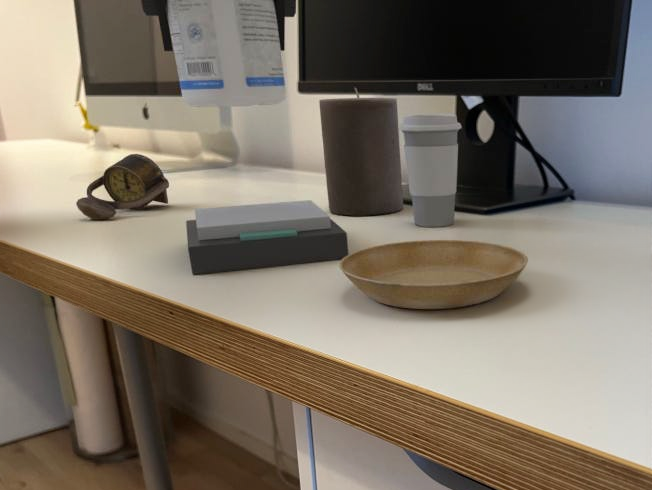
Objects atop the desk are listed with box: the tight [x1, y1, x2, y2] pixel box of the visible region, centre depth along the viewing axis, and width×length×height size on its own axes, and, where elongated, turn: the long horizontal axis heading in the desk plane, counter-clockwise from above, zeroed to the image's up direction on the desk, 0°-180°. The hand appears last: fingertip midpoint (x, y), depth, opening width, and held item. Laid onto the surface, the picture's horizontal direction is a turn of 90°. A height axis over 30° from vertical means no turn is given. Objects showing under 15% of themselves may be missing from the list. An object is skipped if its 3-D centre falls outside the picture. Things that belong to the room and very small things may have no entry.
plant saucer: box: [338, 239, 529, 310], centre depth 55 cm, size 15×15×3 cm
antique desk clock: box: [75, 153, 170, 220], centre depth 92 cm, size 7×13×10 cm
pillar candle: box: [318, 87, 404, 217], centre depth 89 cm, size 10×10×15 cm
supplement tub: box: [165, 0, 287, 108], centre depth 64 cm, size 10×10×15 cm
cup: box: [398, 113, 462, 228], centre depth 80 cm, size 7×7×12 cm
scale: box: [185, 199, 350, 276], centre depth 69 cm, size 14×14×4 cm
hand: (224, 40), depth 68 cm, fingers closed on supplement tub, 10 cm apart
